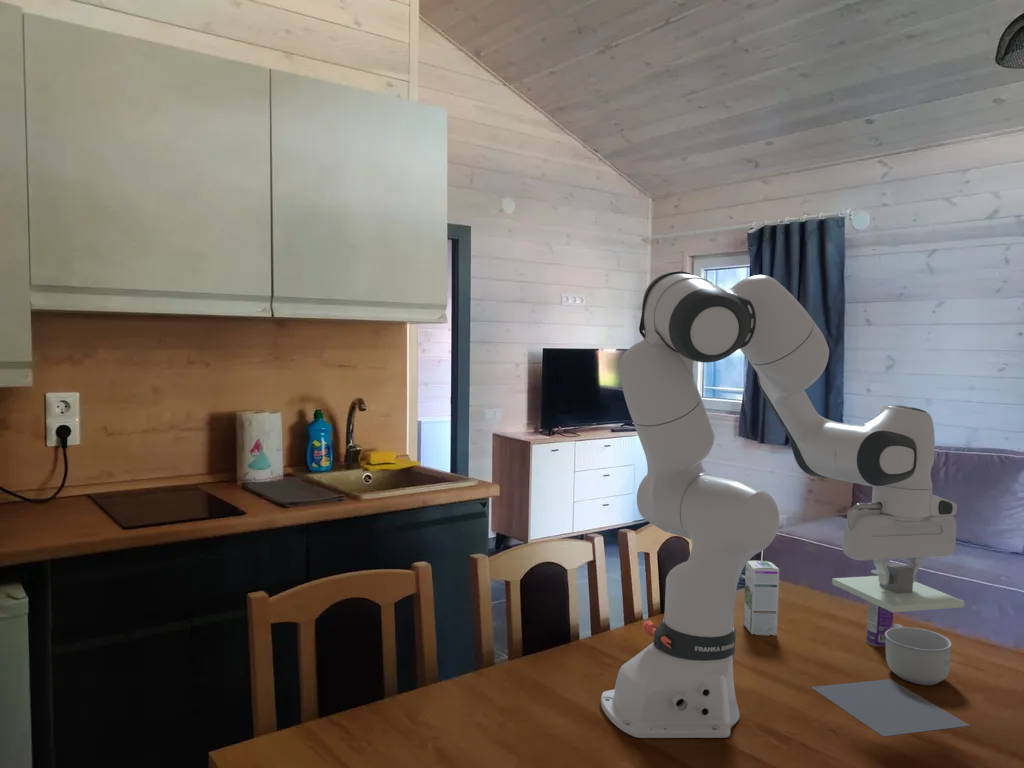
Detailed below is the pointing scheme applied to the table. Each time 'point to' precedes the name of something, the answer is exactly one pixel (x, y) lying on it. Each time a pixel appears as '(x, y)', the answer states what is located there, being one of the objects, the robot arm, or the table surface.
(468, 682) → the table surface
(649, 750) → the table surface
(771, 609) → the syrup box
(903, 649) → the teacup
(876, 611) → the container
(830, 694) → the mat
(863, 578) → the lid
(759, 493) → the robot arm
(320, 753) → the table surface
